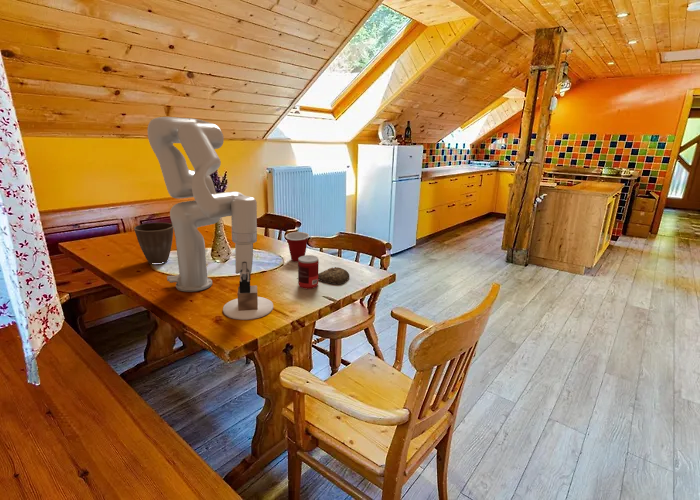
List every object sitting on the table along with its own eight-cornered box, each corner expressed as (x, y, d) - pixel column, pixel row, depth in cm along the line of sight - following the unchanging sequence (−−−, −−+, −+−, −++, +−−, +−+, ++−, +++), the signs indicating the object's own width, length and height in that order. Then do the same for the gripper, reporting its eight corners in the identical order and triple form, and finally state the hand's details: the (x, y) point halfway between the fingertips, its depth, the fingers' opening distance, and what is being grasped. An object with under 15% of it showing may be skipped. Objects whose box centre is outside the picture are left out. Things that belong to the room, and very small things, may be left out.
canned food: (318, 281, 151) (319, 255, 148) (317, 289, 143) (318, 261, 140) (299, 281, 151) (299, 254, 147) (297, 289, 143) (297, 261, 140)
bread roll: (338, 287, 147) (338, 275, 145) (312, 280, 153) (312, 268, 152) (355, 277, 157) (355, 266, 156) (330, 271, 163) (330, 260, 162)
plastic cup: (280, 261, 173) (280, 235, 169) (293, 255, 182) (293, 230, 179) (301, 265, 169) (301, 239, 165) (313, 258, 178) (313, 233, 175)
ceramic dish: (221, 321, 117) (221, 319, 117) (225, 300, 132) (224, 297, 131) (274, 317, 120) (274, 315, 120) (272, 297, 135) (272, 295, 135)
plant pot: (177, 265, 163) (173, 229, 158) (138, 269, 157) (132, 231, 152) (176, 255, 176) (172, 221, 171) (139, 258, 170) (135, 223, 165)
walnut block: (238, 310, 122) (237, 293, 121) (239, 303, 128) (238, 286, 126) (257, 309, 124) (256, 292, 122) (257, 301, 129) (257, 285, 128)
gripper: (233, 228, 126) (234, 276, 131) (230, 244, 110) (231, 298, 116) (256, 228, 128) (257, 275, 133) (257, 244, 112) (257, 297, 117)
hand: (245, 286), depth 124 cm, fingers open, 9 cm apart
